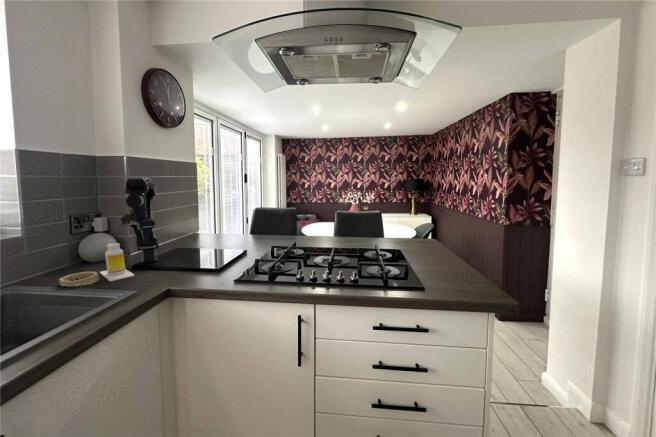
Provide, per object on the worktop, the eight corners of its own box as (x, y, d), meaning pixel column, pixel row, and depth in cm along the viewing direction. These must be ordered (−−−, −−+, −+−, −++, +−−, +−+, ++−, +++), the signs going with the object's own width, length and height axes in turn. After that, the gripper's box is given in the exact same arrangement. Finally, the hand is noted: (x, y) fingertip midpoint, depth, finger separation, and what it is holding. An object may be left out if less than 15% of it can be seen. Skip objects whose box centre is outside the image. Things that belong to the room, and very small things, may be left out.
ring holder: (58, 282, 131) (57, 276, 131) (94, 275, 140) (93, 269, 139) (63, 290, 123) (62, 283, 122) (101, 281, 131) (100, 276, 131)
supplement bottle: (128, 272, 142) (125, 243, 140) (112, 276, 136) (108, 246, 134) (121, 269, 145) (117, 241, 143) (104, 273, 140) (100, 244, 138)
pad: (100, 273, 143) (99, 271, 143) (123, 268, 149) (123, 267, 149) (109, 281, 132) (109, 280, 132) (134, 275, 138) (134, 274, 138)
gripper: (111, 206, 145) (115, 240, 147) (125, 209, 132) (128, 246, 134) (139, 204, 153) (141, 237, 155) (154, 206, 140) (157, 242, 142)
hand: (141, 240), depth 146 cm, fingers open, 9 cm apart
